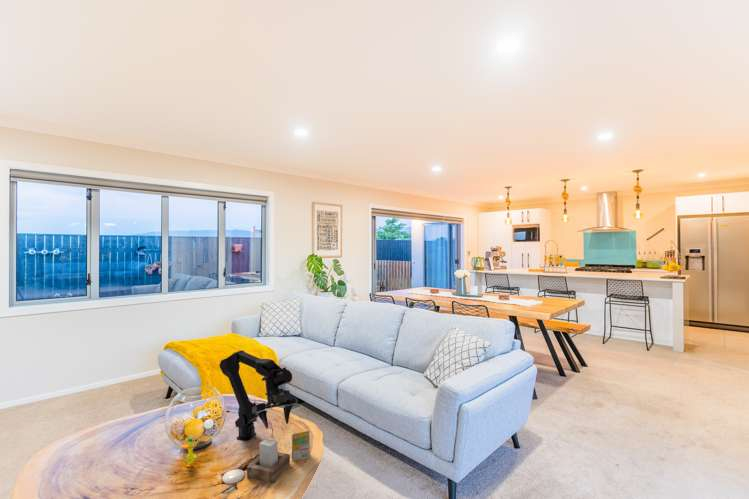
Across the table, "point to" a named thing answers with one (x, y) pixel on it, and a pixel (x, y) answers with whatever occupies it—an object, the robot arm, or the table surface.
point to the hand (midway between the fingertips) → (277, 426)
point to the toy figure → (189, 451)
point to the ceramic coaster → (233, 476)
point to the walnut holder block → (268, 469)
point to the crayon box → (300, 446)
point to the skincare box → (268, 453)
